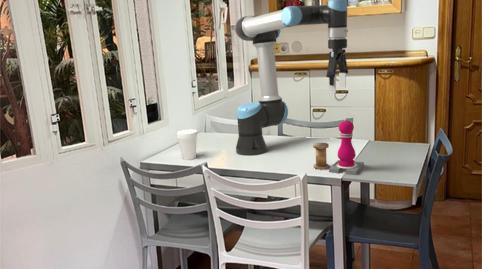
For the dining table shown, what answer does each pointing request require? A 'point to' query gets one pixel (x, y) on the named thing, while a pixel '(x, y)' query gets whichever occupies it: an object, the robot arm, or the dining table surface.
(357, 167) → the notched board
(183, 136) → the foam cup
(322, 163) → the bobbin
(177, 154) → the dining table surface
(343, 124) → the pepper mill
